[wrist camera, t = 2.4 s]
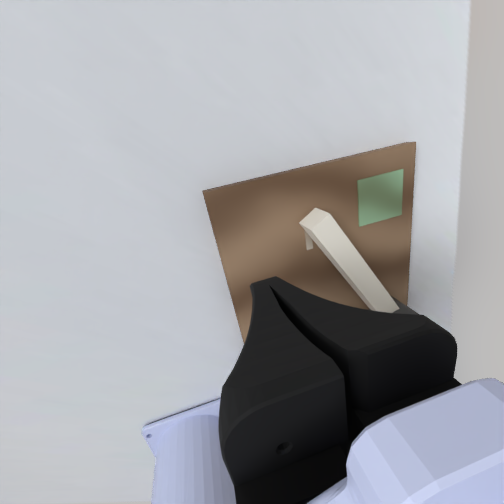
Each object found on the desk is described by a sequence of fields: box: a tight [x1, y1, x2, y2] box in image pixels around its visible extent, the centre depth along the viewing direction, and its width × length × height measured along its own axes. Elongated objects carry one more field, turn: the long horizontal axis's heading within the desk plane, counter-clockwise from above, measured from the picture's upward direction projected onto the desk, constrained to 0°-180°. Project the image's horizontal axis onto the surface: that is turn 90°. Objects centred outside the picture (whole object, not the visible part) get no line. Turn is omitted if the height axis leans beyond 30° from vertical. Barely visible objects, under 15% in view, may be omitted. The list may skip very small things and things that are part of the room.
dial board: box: [202, 142, 416, 343], centre depth 21 cm, size 18×16×1 cm
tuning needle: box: [299, 208, 419, 315], centre depth 20 cm, size 14×3×3 cm, turn 42°
